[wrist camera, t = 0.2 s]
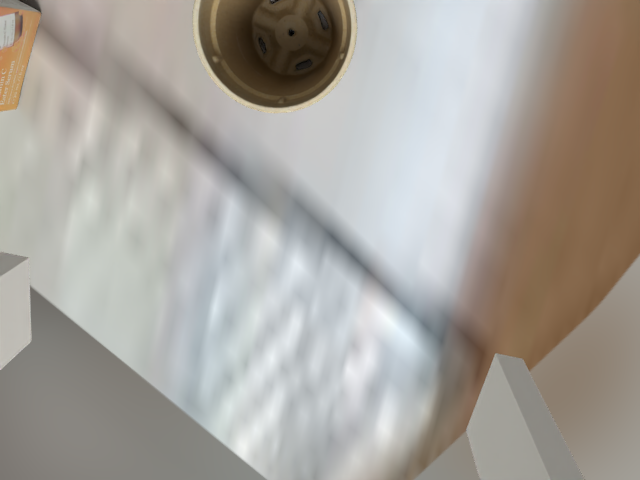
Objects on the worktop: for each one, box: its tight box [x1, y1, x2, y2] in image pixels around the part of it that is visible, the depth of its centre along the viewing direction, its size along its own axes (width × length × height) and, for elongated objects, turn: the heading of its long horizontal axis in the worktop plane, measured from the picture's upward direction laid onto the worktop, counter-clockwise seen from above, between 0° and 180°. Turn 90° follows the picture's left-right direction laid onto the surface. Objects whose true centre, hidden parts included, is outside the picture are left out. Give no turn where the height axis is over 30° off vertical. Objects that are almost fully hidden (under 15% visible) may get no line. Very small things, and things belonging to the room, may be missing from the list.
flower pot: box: [192, 0, 357, 113], centre depth 33 cm, size 9×9×9 cm
